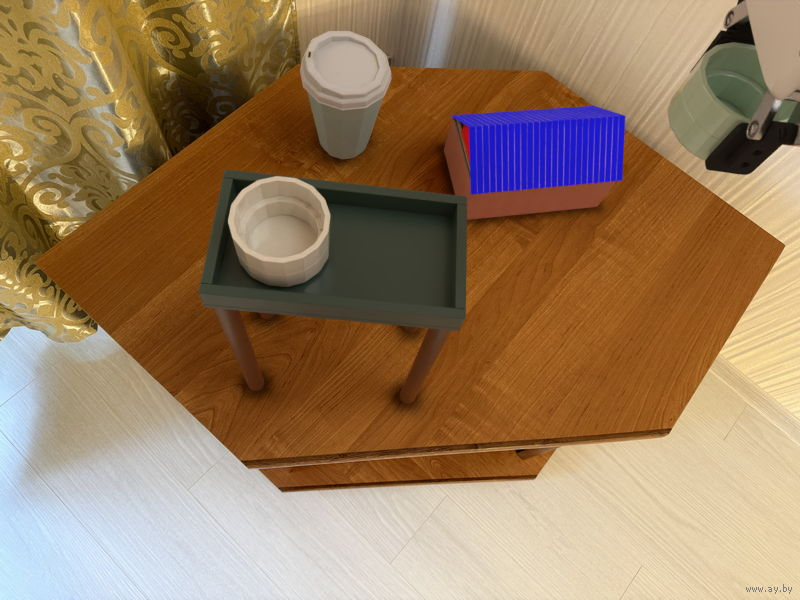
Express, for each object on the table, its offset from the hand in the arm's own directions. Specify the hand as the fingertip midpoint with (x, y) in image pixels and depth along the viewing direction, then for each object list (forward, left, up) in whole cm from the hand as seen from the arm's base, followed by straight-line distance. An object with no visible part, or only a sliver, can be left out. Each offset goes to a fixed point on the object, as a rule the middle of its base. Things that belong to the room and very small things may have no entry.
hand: (718, 121), depth 41 cm
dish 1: (-8, +30, -11) cm, 33 cm away
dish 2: (0, 0, -1) cm, 1 cm away
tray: (-8, +25, -36) cm, 44 cm away
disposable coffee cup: (+22, +27, -36) cm, 50 cm away
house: (+20, +3, -36) cm, 41 cm away
